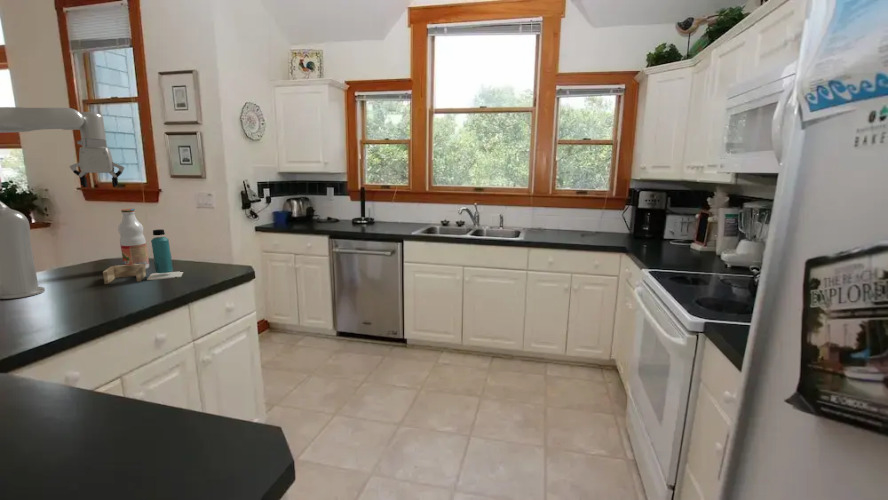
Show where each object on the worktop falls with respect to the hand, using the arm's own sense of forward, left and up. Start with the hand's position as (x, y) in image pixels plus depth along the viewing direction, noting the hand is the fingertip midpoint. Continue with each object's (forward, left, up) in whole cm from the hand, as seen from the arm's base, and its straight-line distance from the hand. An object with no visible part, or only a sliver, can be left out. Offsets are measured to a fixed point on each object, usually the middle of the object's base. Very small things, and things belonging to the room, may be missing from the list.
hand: (100, 187), depth 166 cm
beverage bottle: (+20, -6, -38) cm, 43 cm away
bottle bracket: (+6, -6, -38) cm, 39 cm away
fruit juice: (+6, +14, -38) cm, 41 cm away
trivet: (+20, -6, -38) cm, 44 cm away
